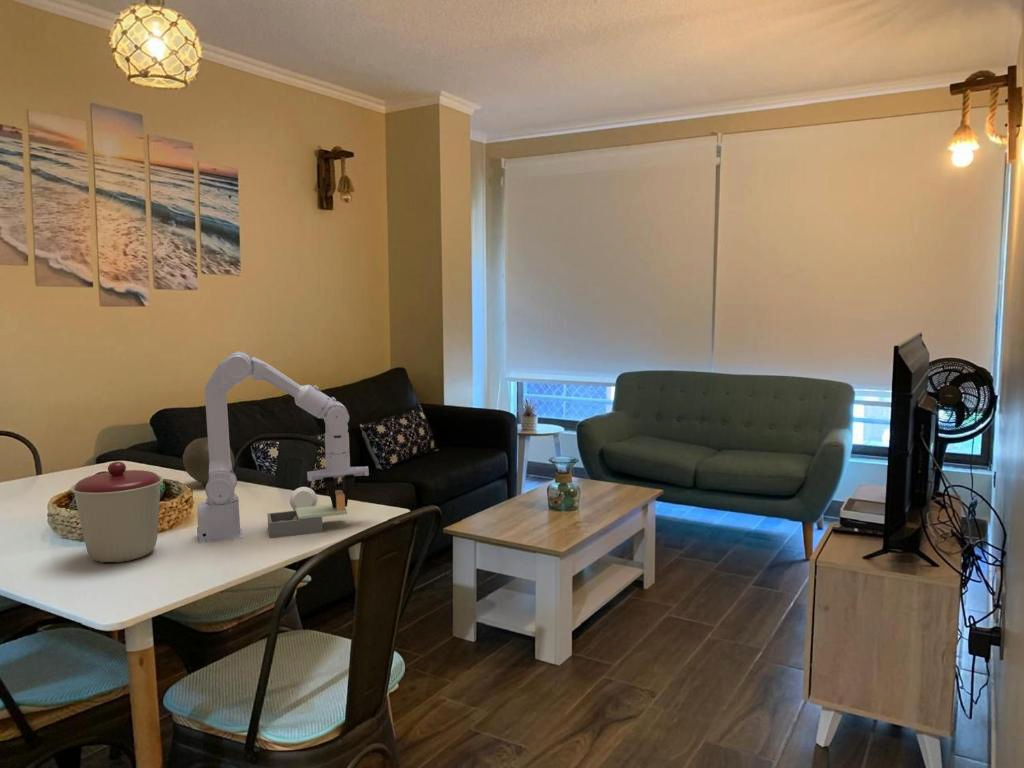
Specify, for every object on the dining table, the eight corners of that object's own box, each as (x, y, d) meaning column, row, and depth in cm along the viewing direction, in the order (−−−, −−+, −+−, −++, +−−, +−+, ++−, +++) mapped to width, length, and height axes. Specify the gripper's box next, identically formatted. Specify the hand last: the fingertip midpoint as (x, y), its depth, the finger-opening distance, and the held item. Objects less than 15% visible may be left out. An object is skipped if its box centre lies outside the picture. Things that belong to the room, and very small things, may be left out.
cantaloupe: (225, 477, 243) (222, 431, 241) (242, 485, 232) (239, 436, 231) (179, 485, 234) (176, 436, 232) (193, 493, 223) (190, 443, 222)
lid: (298, 519, 181) (297, 501, 180) (295, 510, 189) (294, 492, 188) (347, 514, 185) (346, 496, 184) (342, 505, 193) (341, 488, 192)
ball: (292, 529, 185) (292, 517, 185) (291, 526, 188) (291, 514, 187) (305, 528, 186) (305, 516, 186) (304, 525, 189) (303, 513, 188)
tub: (270, 540, 179) (269, 523, 178) (268, 529, 187) (267, 513, 187) (322, 533, 183) (322, 517, 183) (318, 523, 191) (317, 508, 191)
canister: (83, 548, 175) (76, 457, 172) (170, 538, 181) (164, 451, 179) (69, 574, 158) (61, 474, 156) (165, 563, 164) (158, 466, 162)
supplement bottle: (318, 509, 203) (319, 511, 190) (292, 515, 201) (292, 516, 189) (314, 484, 203) (314, 484, 191) (288, 489, 201) (287, 489, 189)
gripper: (364, 446, 193) (366, 499, 195) (305, 451, 188) (307, 505, 190) (369, 451, 186) (371, 506, 188) (308, 456, 181) (310, 512, 183)
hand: (339, 506), depth 188 cm, fingers closed on lid, 2 cm apart
